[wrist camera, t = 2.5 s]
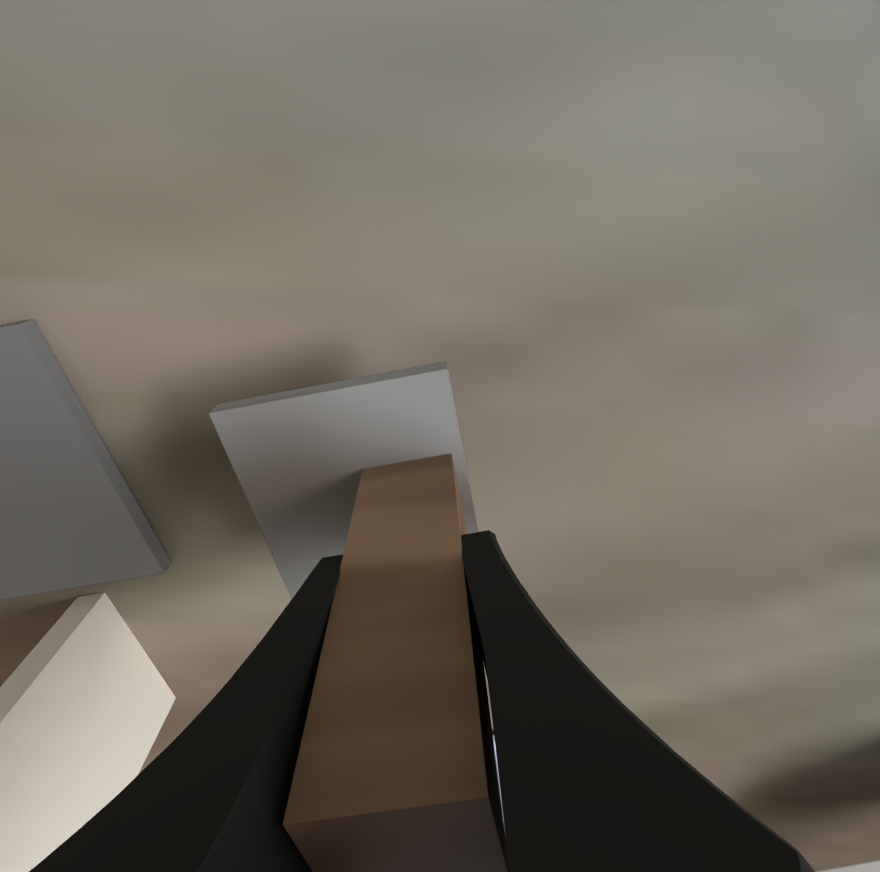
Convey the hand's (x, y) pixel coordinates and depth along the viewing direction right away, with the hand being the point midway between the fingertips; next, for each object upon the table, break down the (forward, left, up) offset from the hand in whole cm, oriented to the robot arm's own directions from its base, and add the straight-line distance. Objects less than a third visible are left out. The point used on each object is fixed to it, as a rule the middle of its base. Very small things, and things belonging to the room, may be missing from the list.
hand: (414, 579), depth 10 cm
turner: (0, +1, -4) cm, 4 cm away
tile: (-8, +15, -8) cm, 19 cm away
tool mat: (+1, +16, -7) cm, 18 cm away
